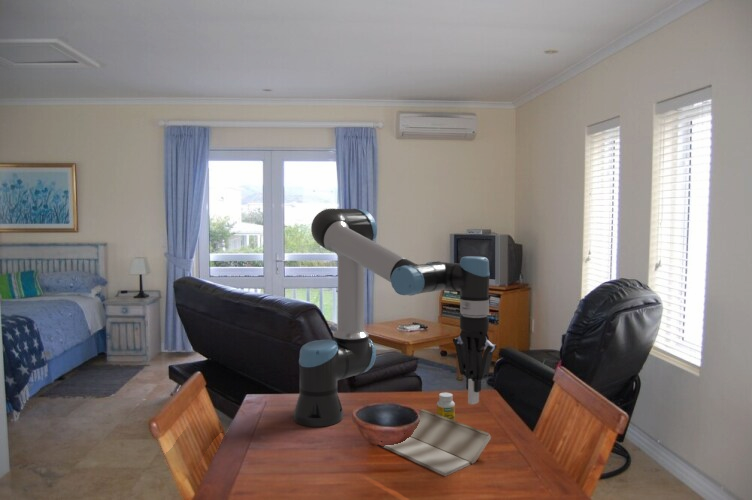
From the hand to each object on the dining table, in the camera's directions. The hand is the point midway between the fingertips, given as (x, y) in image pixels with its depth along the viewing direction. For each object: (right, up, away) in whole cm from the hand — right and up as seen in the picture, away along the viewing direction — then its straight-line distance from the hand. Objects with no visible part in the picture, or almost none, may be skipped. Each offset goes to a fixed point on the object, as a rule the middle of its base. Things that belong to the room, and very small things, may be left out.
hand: (473, 402), depth 147 cm
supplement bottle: (-5, -12, +18) cm, 22 cm away
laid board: (-14, -13, -3) cm, 20 cm away
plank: (-7, -10, +3) cm, 13 cm away
